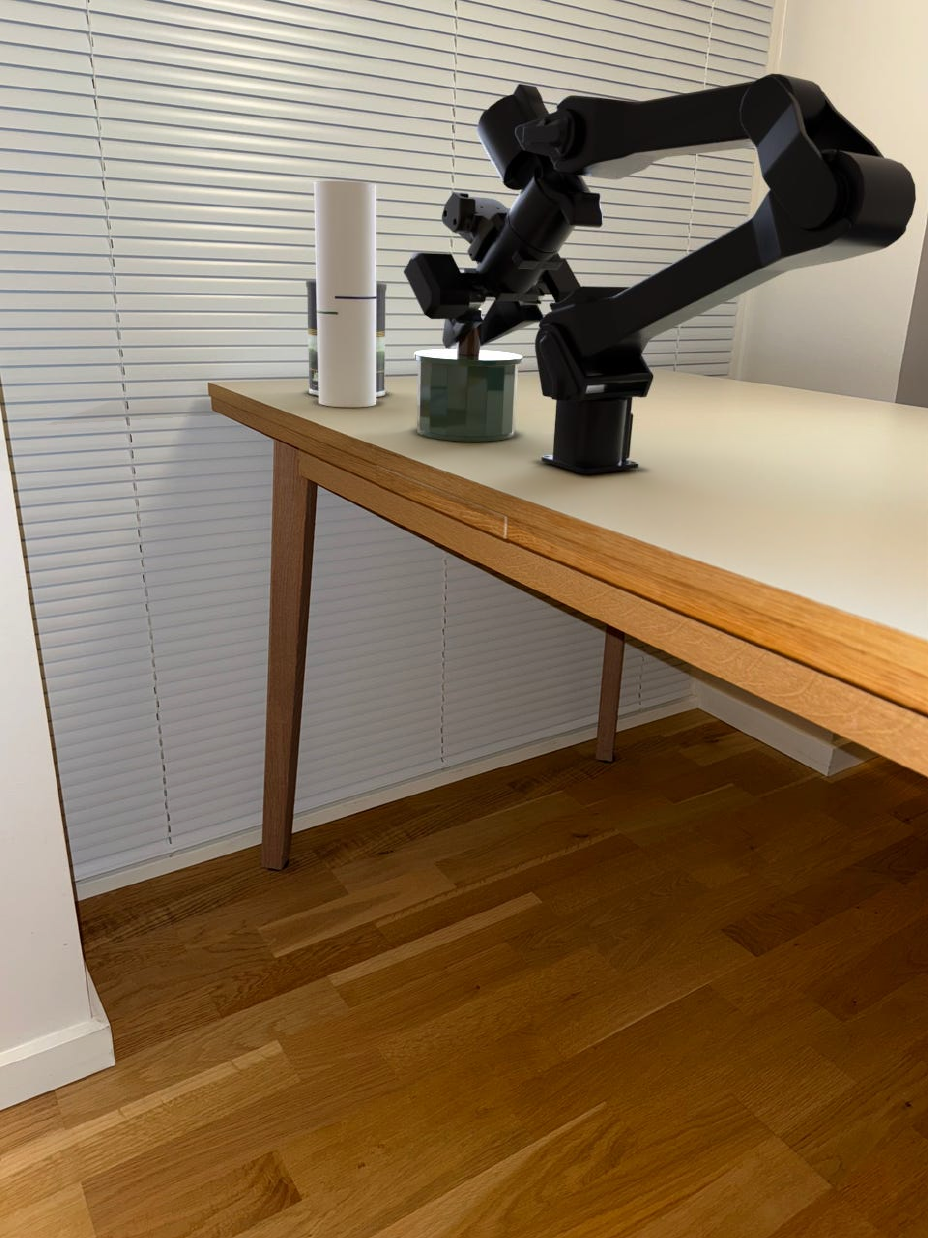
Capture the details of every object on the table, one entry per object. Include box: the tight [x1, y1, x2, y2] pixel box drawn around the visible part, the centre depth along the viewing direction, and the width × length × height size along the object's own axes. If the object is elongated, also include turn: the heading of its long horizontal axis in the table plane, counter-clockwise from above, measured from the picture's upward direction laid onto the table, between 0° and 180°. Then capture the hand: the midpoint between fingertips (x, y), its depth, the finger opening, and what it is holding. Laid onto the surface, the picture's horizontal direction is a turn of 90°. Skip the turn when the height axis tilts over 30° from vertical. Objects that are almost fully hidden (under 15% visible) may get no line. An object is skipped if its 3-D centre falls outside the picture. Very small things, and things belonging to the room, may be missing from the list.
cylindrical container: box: [313, 180, 377, 408], centre depth 112 cm, size 7×7×25 cm
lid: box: [413, 308, 523, 366], centre depth 95 cm, size 11×11×6 cm
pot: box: [416, 361, 519, 443], centre depth 98 cm, size 10×10×8 cm
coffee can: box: [305, 279, 388, 398], centre depth 122 cm, size 10×10×14 cm
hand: (460, 344), depth 97 cm, fingers open, 4 cm apart
